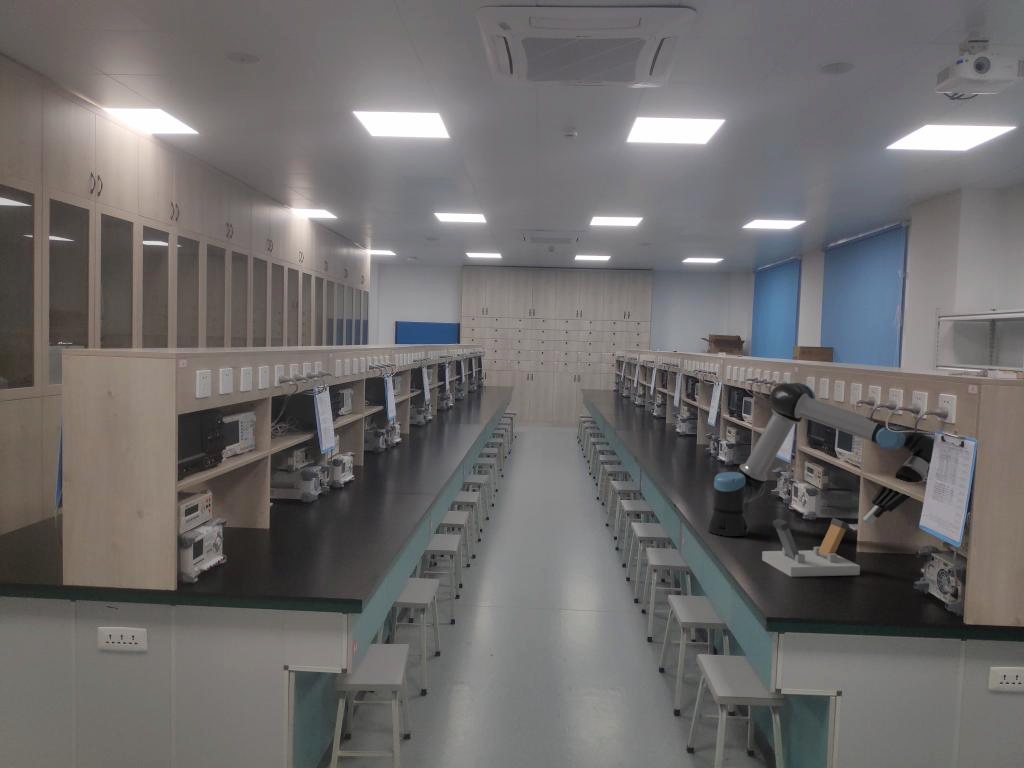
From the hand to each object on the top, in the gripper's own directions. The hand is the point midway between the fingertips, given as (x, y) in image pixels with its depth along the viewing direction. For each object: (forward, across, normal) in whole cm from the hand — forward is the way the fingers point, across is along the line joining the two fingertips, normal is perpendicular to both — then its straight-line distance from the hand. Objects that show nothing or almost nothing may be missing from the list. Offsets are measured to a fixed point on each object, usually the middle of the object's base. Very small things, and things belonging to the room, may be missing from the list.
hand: (866, 522), depth 215 cm
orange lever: (+18, +1, +2) cm, 18 cm away
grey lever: (+26, +1, +10) cm, 28 cm away
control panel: (+25, +1, +3) cm, 25 cm away
